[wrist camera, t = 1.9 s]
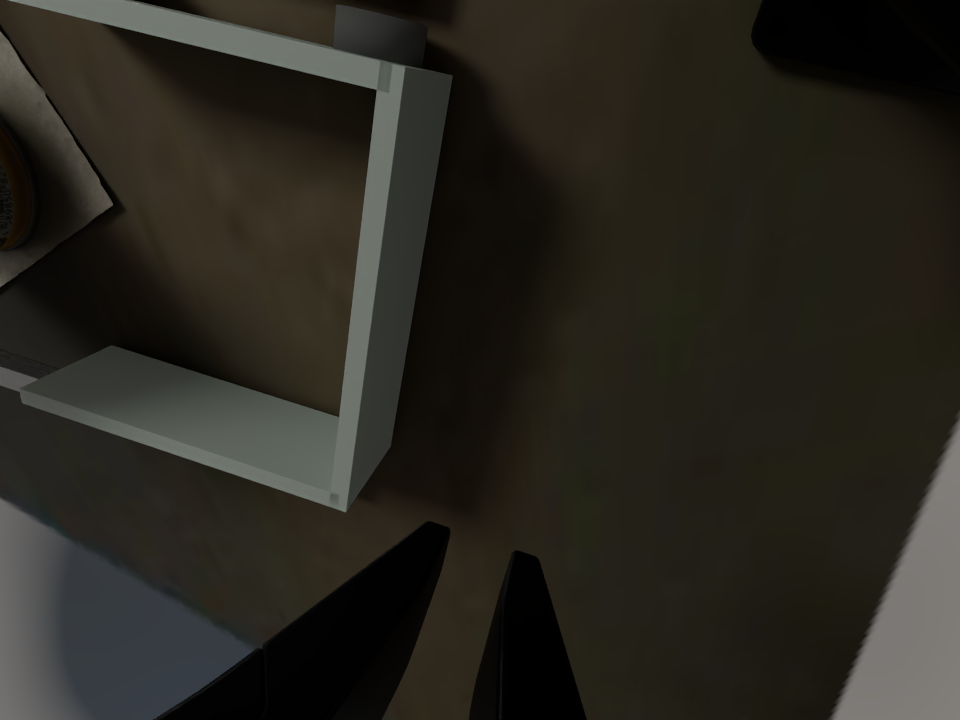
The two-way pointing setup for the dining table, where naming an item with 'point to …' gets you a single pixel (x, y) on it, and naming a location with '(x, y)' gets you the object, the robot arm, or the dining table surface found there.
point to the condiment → (38, 173)
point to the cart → (377, 291)
